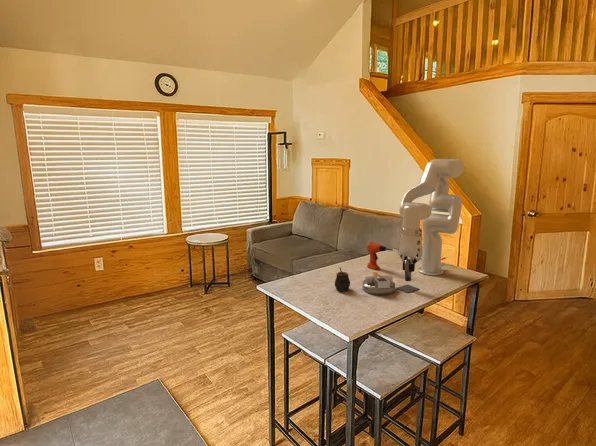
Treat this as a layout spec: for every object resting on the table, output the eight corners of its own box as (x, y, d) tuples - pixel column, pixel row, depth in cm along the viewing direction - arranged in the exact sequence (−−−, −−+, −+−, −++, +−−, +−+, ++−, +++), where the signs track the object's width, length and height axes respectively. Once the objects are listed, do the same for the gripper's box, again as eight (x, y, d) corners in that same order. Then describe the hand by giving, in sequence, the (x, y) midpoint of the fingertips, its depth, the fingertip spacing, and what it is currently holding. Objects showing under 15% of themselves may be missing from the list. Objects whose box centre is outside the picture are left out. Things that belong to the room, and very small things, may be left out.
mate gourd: (339, 293, 172) (339, 272, 170) (331, 288, 179) (331, 268, 177) (352, 291, 174) (352, 270, 172) (345, 285, 181) (345, 266, 179)
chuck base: (378, 281, 186) (378, 275, 186) (401, 290, 174) (402, 284, 173) (355, 288, 178) (355, 282, 178) (378, 298, 166) (379, 291, 165)
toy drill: (390, 273, 194) (388, 244, 192) (365, 268, 209) (363, 242, 208) (397, 271, 196) (395, 243, 195) (371, 266, 212) (370, 240, 211)
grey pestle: (408, 278, 177) (408, 258, 175) (412, 280, 174) (412, 260, 172) (403, 279, 176) (403, 259, 174) (407, 281, 173) (407, 261, 171)
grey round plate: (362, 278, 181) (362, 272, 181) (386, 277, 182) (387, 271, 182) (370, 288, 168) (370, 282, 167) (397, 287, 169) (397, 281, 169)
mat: (407, 285, 181) (407, 284, 181) (419, 289, 176) (419, 288, 176) (396, 288, 177) (396, 287, 177) (407, 293, 171) (407, 292, 171)
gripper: (431, 234, 166) (428, 273, 170) (402, 228, 179) (400, 264, 183) (420, 236, 162) (417, 277, 165) (391, 229, 175) (389, 267, 179)
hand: (408, 270), depth 174 cm, fingers closed on grey pestle, 3 cm apart
